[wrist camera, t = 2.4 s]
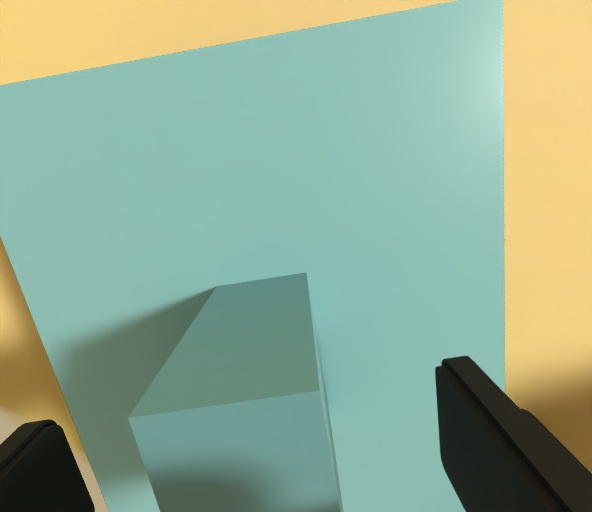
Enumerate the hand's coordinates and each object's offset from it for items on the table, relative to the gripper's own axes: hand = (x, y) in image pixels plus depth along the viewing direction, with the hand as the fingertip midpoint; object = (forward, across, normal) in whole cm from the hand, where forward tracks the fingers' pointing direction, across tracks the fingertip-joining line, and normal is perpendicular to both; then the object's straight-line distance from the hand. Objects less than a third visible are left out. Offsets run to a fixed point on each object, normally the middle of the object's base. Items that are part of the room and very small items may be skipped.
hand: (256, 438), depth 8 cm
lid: (+6, 0, 0) cm, 6 cm away
